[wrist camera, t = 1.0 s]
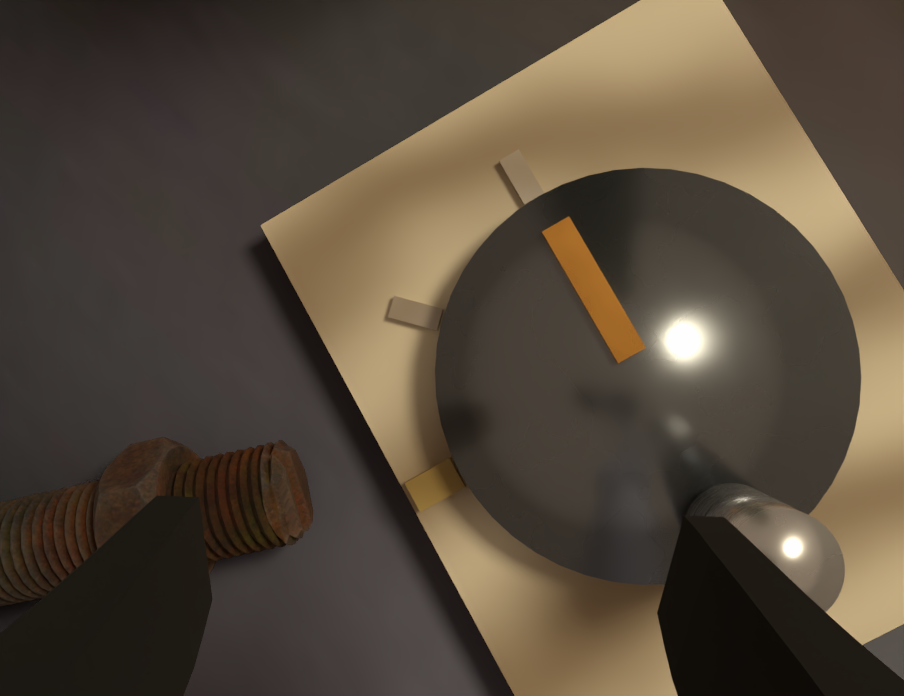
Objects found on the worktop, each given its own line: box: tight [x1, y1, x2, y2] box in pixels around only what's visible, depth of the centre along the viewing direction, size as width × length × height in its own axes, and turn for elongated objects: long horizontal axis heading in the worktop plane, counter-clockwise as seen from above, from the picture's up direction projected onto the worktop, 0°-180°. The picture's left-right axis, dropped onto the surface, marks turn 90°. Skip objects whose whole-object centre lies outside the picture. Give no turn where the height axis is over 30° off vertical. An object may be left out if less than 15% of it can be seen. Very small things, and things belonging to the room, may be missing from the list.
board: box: [260, 0, 904, 696], centre depth 22 cm, size 20×16×2 cm
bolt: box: [0, 437, 313, 606], centre depth 22 cm, size 6×5×15 cm
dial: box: [435, 168, 861, 612], centre depth 19 cm, size 12×12×5 cm
